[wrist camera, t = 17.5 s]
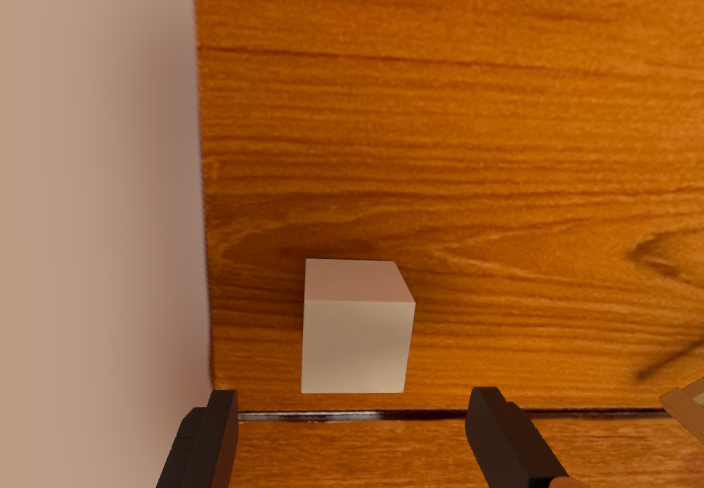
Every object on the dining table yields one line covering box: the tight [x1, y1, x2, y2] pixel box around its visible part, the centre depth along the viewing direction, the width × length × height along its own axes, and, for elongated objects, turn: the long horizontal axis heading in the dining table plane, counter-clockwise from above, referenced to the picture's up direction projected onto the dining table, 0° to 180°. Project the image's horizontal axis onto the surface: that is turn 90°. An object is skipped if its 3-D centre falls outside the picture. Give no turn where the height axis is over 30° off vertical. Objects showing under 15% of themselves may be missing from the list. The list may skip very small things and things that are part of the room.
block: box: [301, 259, 416, 393], centre depth 19 cm, size 5×5×5 cm
